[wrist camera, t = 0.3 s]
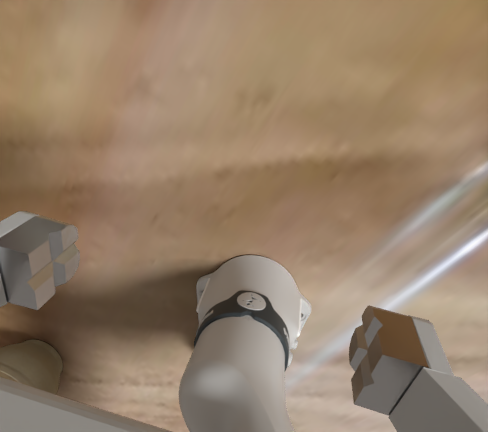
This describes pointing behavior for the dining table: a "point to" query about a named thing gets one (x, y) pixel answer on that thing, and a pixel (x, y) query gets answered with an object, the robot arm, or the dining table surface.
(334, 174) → the dining table surface
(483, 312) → the dining table surface
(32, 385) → the planter bowl
